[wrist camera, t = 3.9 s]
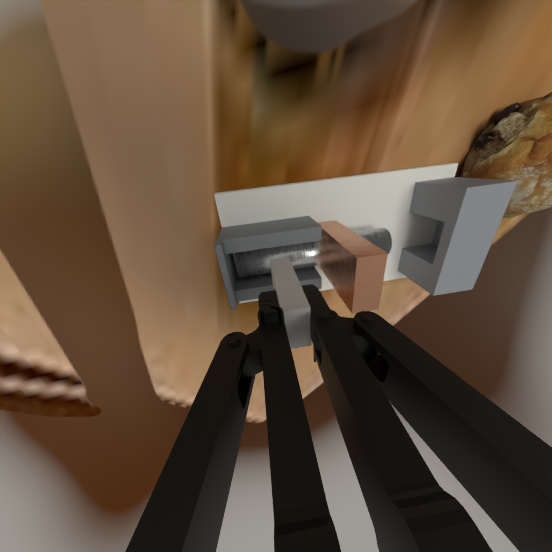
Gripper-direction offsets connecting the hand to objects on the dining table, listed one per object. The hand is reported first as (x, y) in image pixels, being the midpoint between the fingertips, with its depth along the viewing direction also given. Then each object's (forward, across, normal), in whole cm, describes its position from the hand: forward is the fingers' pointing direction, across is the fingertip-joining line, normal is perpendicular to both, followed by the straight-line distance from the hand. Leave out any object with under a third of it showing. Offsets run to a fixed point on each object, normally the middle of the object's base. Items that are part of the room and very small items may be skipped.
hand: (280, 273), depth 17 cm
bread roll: (+7, +24, +6) cm, 26 cm away
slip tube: (+5, +3, 0) cm, 6 cm away
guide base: (+6, +7, 0) cm, 9 cm away
